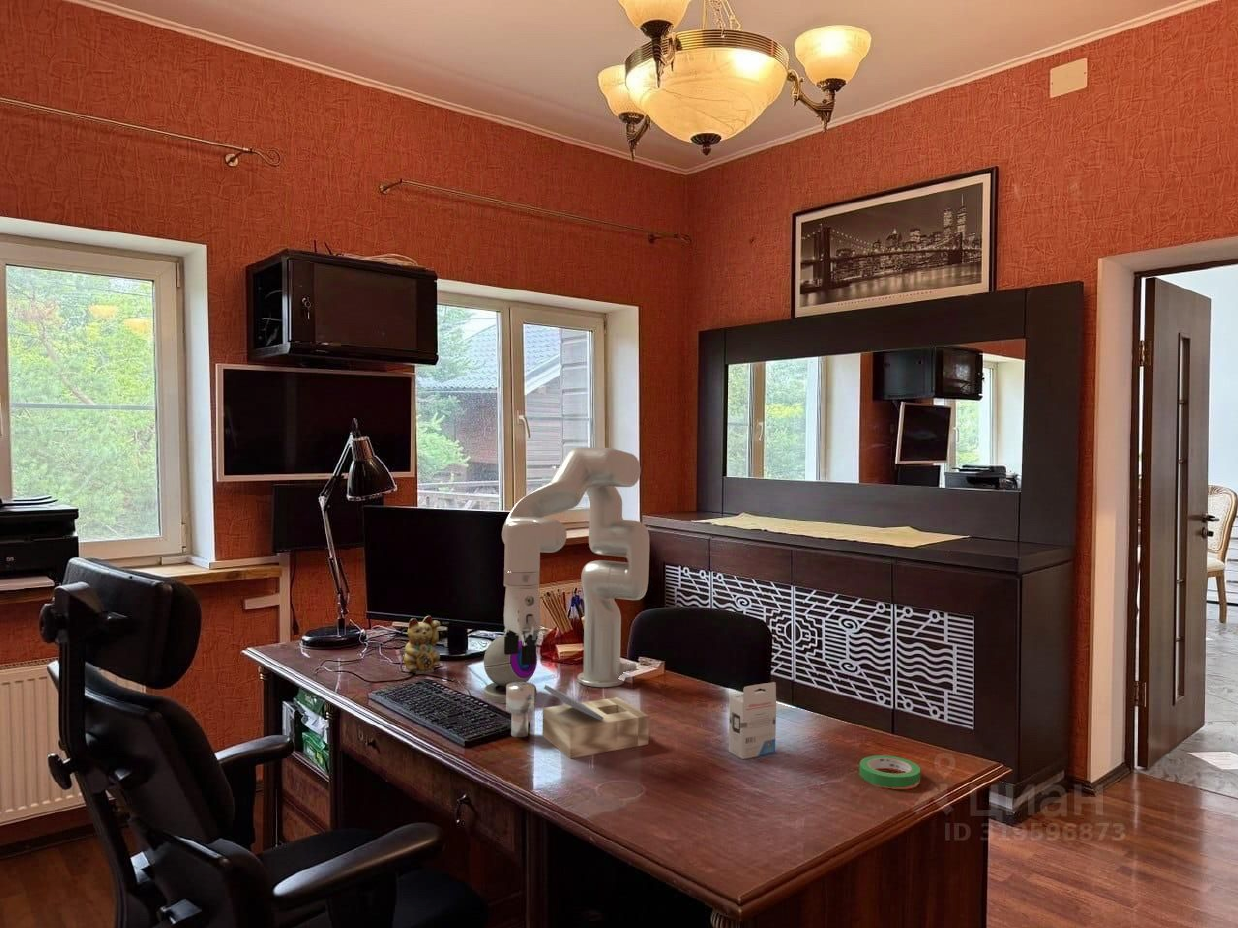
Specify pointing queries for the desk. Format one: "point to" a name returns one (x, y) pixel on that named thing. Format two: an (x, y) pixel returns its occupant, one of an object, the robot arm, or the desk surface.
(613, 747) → the block
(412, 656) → the decorative figurine
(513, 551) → the robot arm
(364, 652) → the desk surface
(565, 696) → the plate
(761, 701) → the ink box
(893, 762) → the tape roll
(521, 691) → the light bulb
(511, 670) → the webcam
